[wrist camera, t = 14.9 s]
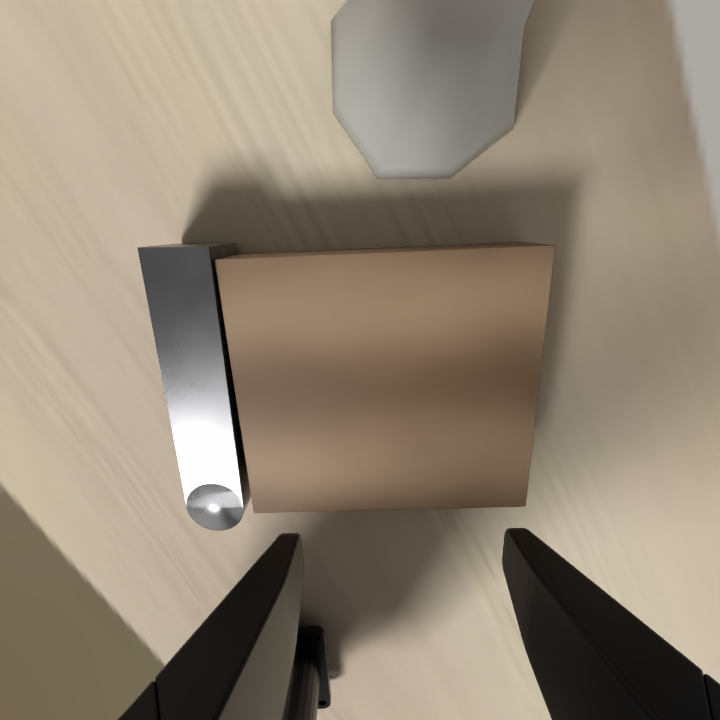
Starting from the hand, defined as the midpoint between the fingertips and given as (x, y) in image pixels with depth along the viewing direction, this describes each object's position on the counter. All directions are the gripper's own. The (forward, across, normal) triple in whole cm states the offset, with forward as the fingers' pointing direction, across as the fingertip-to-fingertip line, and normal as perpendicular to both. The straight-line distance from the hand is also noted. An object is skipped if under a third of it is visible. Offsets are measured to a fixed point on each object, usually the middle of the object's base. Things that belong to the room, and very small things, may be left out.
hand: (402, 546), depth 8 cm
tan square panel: (+11, 0, 0) cm, 11 cm away
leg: (+11, +8, +5) cm, 14 cm away
